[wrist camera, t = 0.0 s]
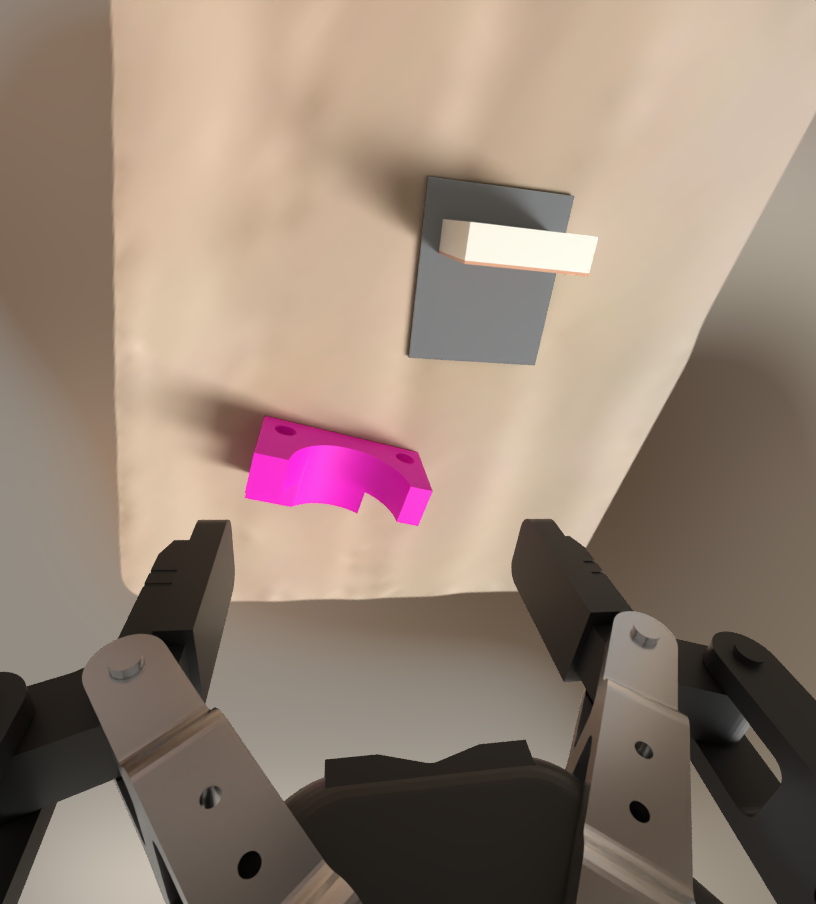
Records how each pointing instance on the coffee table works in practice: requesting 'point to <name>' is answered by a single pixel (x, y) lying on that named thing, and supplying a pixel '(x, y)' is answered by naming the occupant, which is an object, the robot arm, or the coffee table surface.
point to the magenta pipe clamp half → (335, 471)
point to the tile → (517, 247)
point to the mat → (482, 277)
